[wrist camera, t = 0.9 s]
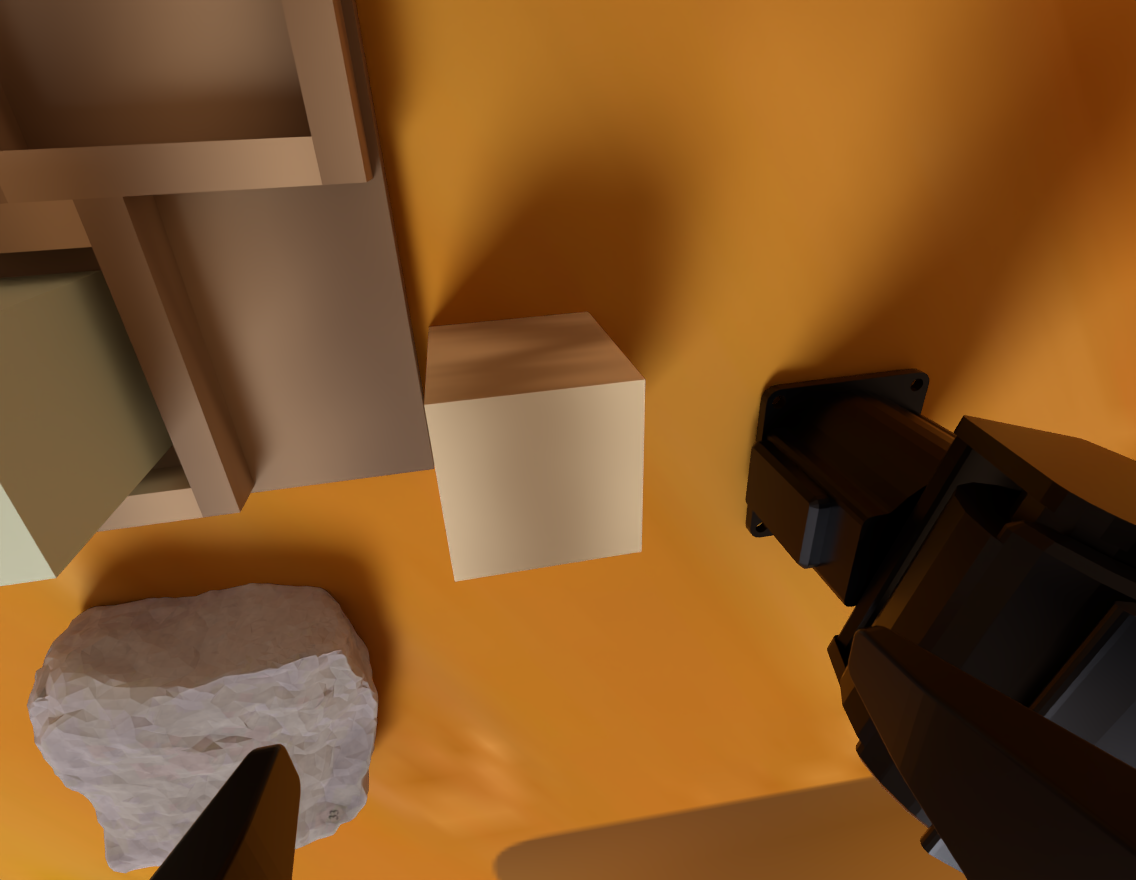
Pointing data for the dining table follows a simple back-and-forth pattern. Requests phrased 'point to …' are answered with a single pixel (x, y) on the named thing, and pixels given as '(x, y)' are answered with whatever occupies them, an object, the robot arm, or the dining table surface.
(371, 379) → the walnut base board
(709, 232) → the dining table surface
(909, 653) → the robot arm
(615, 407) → the oak block
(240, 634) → the stone block
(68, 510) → the sage block
